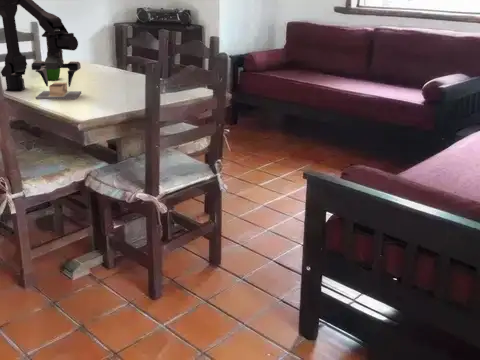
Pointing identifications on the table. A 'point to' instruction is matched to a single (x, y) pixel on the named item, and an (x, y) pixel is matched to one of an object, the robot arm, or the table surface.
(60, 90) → the copper block with band
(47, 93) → the mat
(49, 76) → the bell pepper
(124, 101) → the table surface
